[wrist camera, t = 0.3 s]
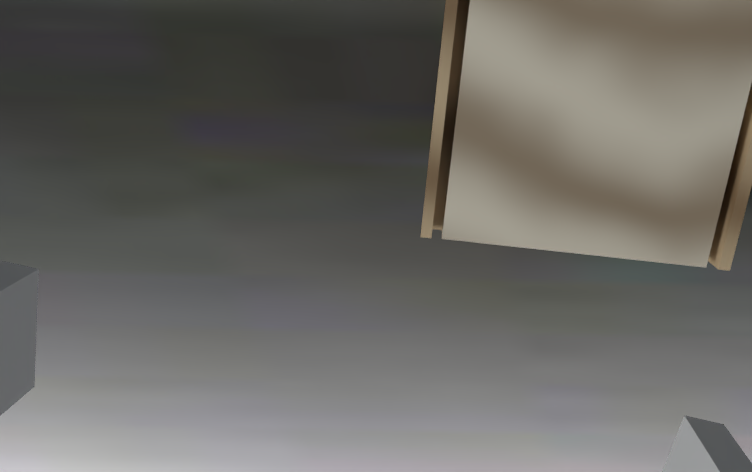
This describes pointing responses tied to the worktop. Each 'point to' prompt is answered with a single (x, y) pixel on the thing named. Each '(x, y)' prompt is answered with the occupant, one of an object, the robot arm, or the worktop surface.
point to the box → (745, 169)
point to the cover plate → (598, 125)
